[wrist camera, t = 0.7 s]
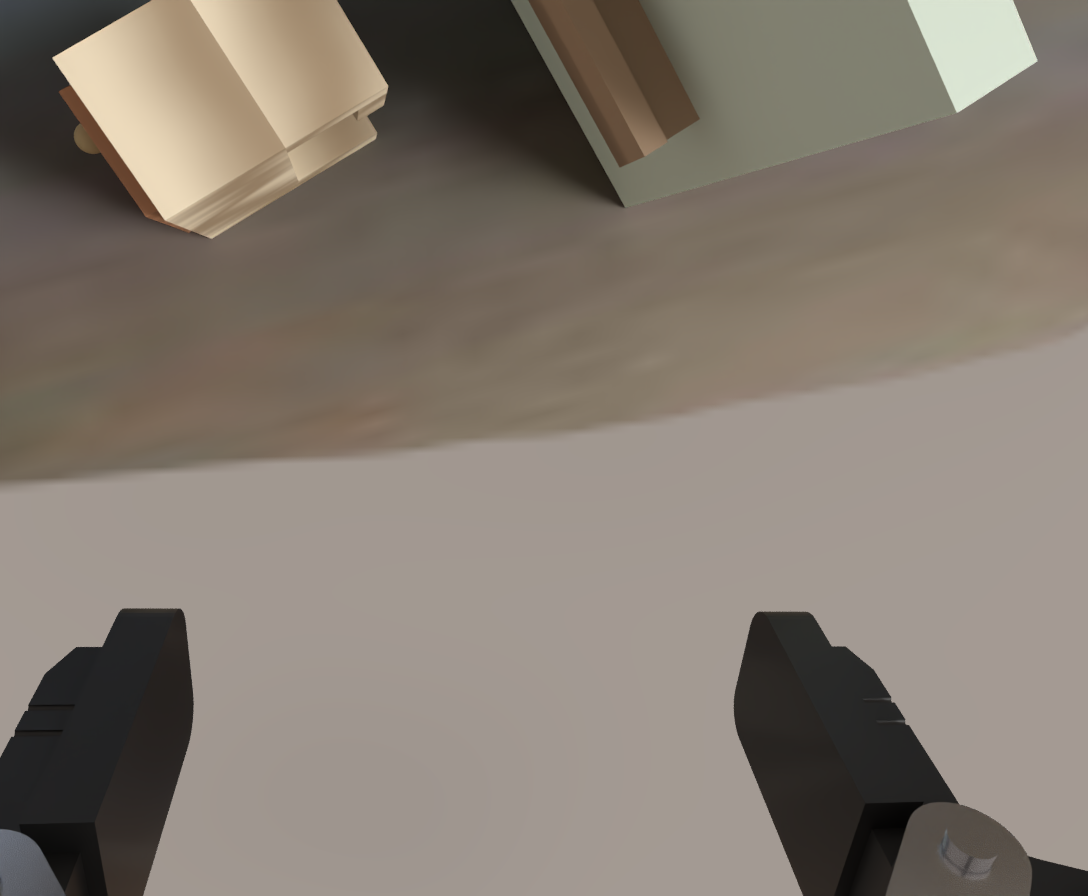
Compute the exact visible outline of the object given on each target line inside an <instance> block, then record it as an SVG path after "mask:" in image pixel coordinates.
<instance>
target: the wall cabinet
mask: <svg viewBox="0 0 1088 896" xmlns="http://www.w3.org/2000/svg"><path fill="white" fill-rule="evenodd" d="M53 60H54V61H55V63H56V64H57V66H58V67H59V69H60V70H61V71H62V73H63V74H64V76H65V77H66V79H67V80H68V81H69V83H70V84H71V85H69V86H67V87H66V88H64V89H62V90H61V91H59V93H60V95H61V96H62V98H63V99H64V100H65V102H66V103H67V105H68V106H69V108H70V109H71V110H72V112H73V113H74V115H75V116H76V118H77V119H78V120H79V122H80V124H79V125H78V126H77V127H76V129H75V131H74V140H75V142H76V144H77V146H78V147H79V148H80V149H81V150H83V151H84V152H86V153H90V154H98V153H100V152H101V153H102V155H103V156H104V158H105V159H106V160H107V162H108V163H109V165H110V166H111V168H112V169H113V170H114V172H115V173H116V175H117V176H118V178H119V179H120V180H121V182H122V183H123V185H124V186H125V188H126V189H127V190H128V192H129V193H130V195H131V196H132V198H133V199H134V201H135V202H136V203H137V205H138V206H139V208H140V209H141V211H142V212H143V213H144V215H145V216H146V217H148V218H150V219H153V220H156V221H158V222H161V223H164V224H166V225H169V226H172V227H175V228H177V229H180V230H183V231H185V232H188V233H189V232H191V231H193V232H196V233H198V234H201V235H203V236H206V237H208V238H211V239H212V238H214V237H215V236H217V235H219V234H220V233H222V232H224V231H225V230H227V229H229V228H230V227H232V226H234V225H235V224H237V223H239V222H240V221H242V220H243V219H245V218H247V217H248V216H250V215H252V214H253V213H255V212H257V211H258V210H260V209H262V208H263V207H265V206H267V205H268V204H270V203H271V202H273V201H275V200H276V199H278V198H280V197H281V196H283V195H285V194H286V193H288V192H290V191H291V190H293V189H295V188H296V187H298V186H299V185H301V184H303V183H304V182H306V181H308V180H309V179H311V178H313V177H314V176H316V175H318V174H319V173H321V172H322V171H324V170H326V169H327V168H329V167H331V166H332V165H334V164H336V163H337V162H339V161H341V160H342V159H344V158H346V157H347V156H349V155H350V154H352V153H354V152H355V151H357V150H359V149H360V148H362V147H364V146H365V145H367V144H369V143H370V142H372V141H374V140H375V139H376V136H377V132H376V130H375V128H374V127H373V125H372V124H371V122H370V120H369V119H368V117H367V115H369V114H371V113H372V112H374V111H376V110H377V109H379V108H381V107H382V106H384V102H385V98H386V94H387V90H388V85H387V83H386V81H385V80H384V78H383V76H382V75H381V73H380V71H379V70H378V68H377V66H376V65H375V63H374V61H373V60H372V58H371V56H370V55H369V53H368V51H367V50H366V48H365V46H364V45H363V43H362V41H361V40H360V38H359V36H358V35H357V33H356V31H355V30H354V28H353V27H352V25H351V23H350V22H349V20H348V18H347V17H346V15H345V13H344V12H343V10H342V8H341V7H340V5H339V3H338V2H337V0H152V1H150V2H148V3H146V4H145V5H143V6H141V7H139V8H138V9H136V10H134V11H132V12H131V13H129V14H127V15H126V16H124V17H122V18H120V19H119V20H117V21H115V22H113V23H112V24H110V25H108V26H106V27H105V28H103V29H101V30H100V31H98V32H96V33H94V34H93V35H91V36H89V37H87V38H86V39H84V40H82V41H81V42H79V43H77V44H75V45H74V46H72V47H70V48H68V49H67V50H65V51H63V52H61V53H60V54H58V55H56V56H55V57H53Z"/></svg>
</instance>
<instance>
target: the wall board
mask: <svg viewBox="0 0 1088 896" xmlns="http://www.w3.org/2000/svg"><path fill="white" fill-rule="evenodd" d="M511 2H512V3H513V5H514V7H515V9H516V11H517V12H518V14H519V16H520V18H521V20H522V21H523V23H524V25H525V27H526V29H527V30H528V32H529V34H530V36H531V38H532V40H533V41H534V43H535V45H536V47H537V49H538V50H539V52H540V54H541V56H542V58H543V59H544V61H545V63H546V65H547V67H548V69H549V70H550V72H551V74H552V76H553V78H554V79H555V81H556V83H557V85H558V87H559V88H560V90H561V92H562V94H563V96H564V98H565V99H566V101H567V103H568V105H569V107H570V108H571V110H572V112H573V114H574V116H575V117H576V119H577V121H578V123H579V125H580V127H581V128H582V130H583V132H584V134H585V136H586V137H587V139H588V141H589V143H590V145H591V146H592V148H593V150H594V152H595V154H596V156H597V157H598V159H599V161H600V163H601V165H602V166H603V168H604V170H605V172H606V174H607V175H608V177H609V179H610V181H611V183H612V185H613V186H614V188H615V190H616V192H617V194H618V195H619V197H620V199H621V201H622V203H623V204H624V206H625V208H628V207H631V206H635V205H638V204H642V203H645V202H649V201H652V200H656V199H659V198H663V197H666V196H670V195H673V194H677V193H680V192H684V191H687V190H691V189H694V188H697V187H701V186H704V185H708V184H711V183H715V182H718V181H722V180H725V179H729V178H732V177H736V176H739V175H743V174H746V173H750V172H753V171H757V170H760V169H764V168H767V167H771V166H774V165H778V164H781V163H785V162H788V161H792V160H795V159H799V158H802V157H806V156H809V155H813V154H816V153H819V152H823V151H826V150H830V149H833V148H837V147H840V146H844V145H847V144H851V143H854V142H858V141H861V140H865V139H868V138H872V137H875V136H879V135H882V134H886V133H889V132H893V131H896V130H900V129H903V128H907V127H910V126H914V125H917V124H921V123H924V122H928V121H931V120H935V119H938V118H941V117H945V116H948V115H952V114H955V113H958V112H959V111H961V110H962V109H964V108H966V107H967V106H969V105H970V104H972V103H973V102H975V101H976V100H978V99H979V98H981V97H983V96H984V95H986V94H987V93H989V92H990V91H992V90H993V89H995V88H996V87H998V86H1000V85H1001V84H1003V83H1004V82H1006V81H1007V80H1009V79H1010V78H1012V77H1014V76H1015V75H1017V74H1018V73H1020V72H1021V71H1023V70H1024V69H1026V68H1027V67H1029V66H1031V65H1032V64H1034V63H1035V62H1037V58H1036V56H1035V54H1034V51H1033V49H1032V46H1031V44H1030V41H1029V39H1028V36H1027V34H1026V32H1025V29H1024V27H1023V24H1022V22H1021V19H1020V17H1019V14H1018V12H1017V10H1016V7H1015V5H1014V2H1013V0H511Z"/></svg>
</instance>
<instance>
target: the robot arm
mask: <svg viewBox="0 0 1088 896" xmlns="http://www.w3.org/2000/svg"><path fill="white" fill-rule="evenodd" d="M193 705H194V703H193V688H192V679H191V669H190V660H189V651H188V641H187V631H186V622H185V616H184V613H183V611H182V610H181V609H122V610H121V611H120V612H119V614H118V615H117V617H116V619H115V622H114V623H113V626H112V628H111V630H110V632H109V634H108V636H107V638H106V641H105V643H104V645H103V647H76V648H75V649H73V650H72V651H71V652H70V653H69V654H68V655H67V656H65V657H64V658H63V659H62V660H61V661H60V662H58V663H57V664H56V665H55V666H54V667H53V668H51V669H50V670H49V671H48V672H47V673H46V674H45V675H44V677H43V679H42V680H41V682H40V684H39V686H38V688H37V690H36V692H35V694H34V695H33V698H32V699H31V701H30V703H29V705H28V706H29V708H28V711H25V712H24V714H23V716H22V718H21V720H20V722H19V724H18V725H17V727H16V729H15V736H14V737H11V739H10V740H9V742H8V744H7V746H6V748H5V750H4V752H3V753H2V756H1V757H0V896H143V894H144V890H145V887H146V884H147V881H148V877H149V874H150V871H151V867H152V864H153V861H154V857H155V854H156V851H157V847H158V844H159V841H160V838H161V834H162V831H163V828H164V824H165V821H166V818H167V814H168V811H169V808H170V804H171V801H172V798H173V794H174V791H175V788H176V785H177V781H178V778H179V775H180V771H181V768H182V765H183V761H184V758H185V755H186V751H187V748H188V744H189V741H190V736H191V730H192V722H193ZM734 717H735V725H736V729H737V733H738V736H739V739H740V741H741V744H742V746H743V749H744V751H745V754H746V756H747V759H748V761H749V763H750V766H751V769H752V771H753V773H754V776H755V778H756V781H757V783H758V786H759V788H760V791H761V793H762V795H763V798H764V800H765V803H766V805H767V808H768V810H769V813H770V815H771V818H772V820H773V823H774V825H775V827H776V830H777V832H778V835H779V837H780V840H781V842H782V845H783V847H784V850H785V852H786V855H787V857H788V859H789V862H790V864H791V867H792V869H793V872H794V874H795V877H796V879H797V882H798V884H799V887H800V889H801V891H802V894H803V896H1088V871H1085V870H1081V869H1076V868H1072V867H1068V866H1064V865H1060V864H1056V863H1052V862H1047V861H1043V860H1040V859H1036V858H1033V857H1029V856H1028V855H1027V853H1026V852H1025V850H1024V849H1023V847H1022V845H1021V844H1020V843H1019V841H1018V840H1017V839H1016V838H1015V837H1014V836H1013V835H1012V834H1011V833H1010V832H1009V831H1008V830H1007V829H1006V828H1005V827H1003V826H1002V825H1001V824H1000V823H998V822H997V821H995V820H994V819H992V818H991V817H989V816H987V815H985V814H983V813H982V812H979V811H977V810H975V809H972V808H970V807H967V806H964V805H960V804H959V803H958V802H957V800H956V798H955V797H954V795H953V794H952V792H951V790H950V789H949V787H948V786H947V784H946V783H945V781H944V780H943V778H942V776H941V775H940V773H939V772H938V770H937V769H936V767H935V765H934V764H933V762H932V761H931V759H930V758H929V756H928V754H927V753H926V751H925V750H924V748H923V747H922V745H921V743H920V742H919V740H918V739H917V737H916V736H915V734H914V732H913V731H912V729H911V728H910V726H909V725H906V724H905V718H904V717H903V715H902V714H901V712H900V710H899V709H898V707H897V706H896V704H895V703H892V702H891V696H890V695H889V693H888V692H887V690H886V688H885V687H884V685H883V684H882V682H881V681H880V679H879V678H878V676H877V674H876V673H875V671H874V670H873V669H872V668H871V667H869V666H868V665H867V664H866V663H865V662H863V661H862V660H861V659H860V658H859V657H857V656H856V655H855V654H854V653H853V652H851V651H850V650H849V649H848V648H847V647H832V646H831V645H830V643H829V641H828V640H827V638H826V636H825V635H824V633H823V631H822V630H821V628H820V626H819V625H818V623H817V621H816V620H815V618H814V617H813V615H811V614H810V613H808V612H757V613H756V614H755V616H754V617H753V619H752V622H751V625H750V630H749V634H748V639H747V643H746V647H745V651H744V655H743V660H742V664H741V668H740V673H739V677H738V681H737V685H736V690H735V696H734Z"/></svg>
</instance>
